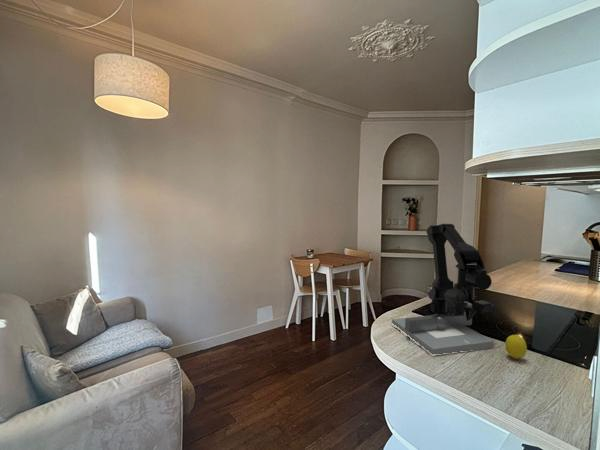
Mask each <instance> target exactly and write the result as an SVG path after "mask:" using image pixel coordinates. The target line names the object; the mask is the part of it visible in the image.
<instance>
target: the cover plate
mask: <svg viewBox="0 0 600 450" xmlns="http://www.w3.org/2000/svg"><path fill="white" fill-rule="evenodd" d="M433 315H434V314H432V315H430V316H433ZM441 315H442V314H441ZM423 316H424V315H422V316H420V317H423ZM413 317H414V316H412V317H409V318H413ZM405 318H406V317H403V318H401V317H400V318H392V319H391V324H392V323H393V324H394V325H396V326H397V327H399V328H400V329H401V330H402V331H404V332H405V333H406V334H407V335H409V336H410V337H411V338H412V339H414V340H415V341H416V342H418V343H419V344H420V345H421V346H423V347H424V348H425V349H426V350H428V351H429V352H430V353H432V354H443V353H452V352H460V351H470V350H477V351H482V350H481V349H484V350H492V349H494V340H492V339H490V338H488V337H487V336H484V335H483V334H481V333H479V332H478V331H476V330H474V329H472V328H470V327H468V326H467V325H465V326H456V327H447V328H445V329H430V330H421V331H412V332H408V331H407V330H406V329H405ZM470 352H471V351H470Z"/></svg>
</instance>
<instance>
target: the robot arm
mask: <svg viewBox="0 0 600 450" xmlns="http://www.w3.org/2000/svg"><path fill="white" fill-rule="evenodd" d="M426 235H427V239H428V241H429V242H430V243H431V245H432V250H433V251H432V252H433V262H434V274H435V278H434V279H433V281H432V284H431V287H432V288H431V289H430V290H429V291H428V298H429V299H430V300H431V301H430V309H431V311H432V312H433V313H432V312H431V313H432V314H434V313H438V314H451V313H450V312H449V303H450V304H451V305H452V306H453V307H454V309H455V313H462V312H466V315H467V321H468V320H470V319H472V320H473V317H474V316H475V314H476V313H482V314H485V313H490V312H494V304H493V303H491V302H489V301H486V300H484V299H483V300H482V299H480V300H477V296H476V295H475V289H479V290H481V291H484V290H487V289H488V290H489V288H490V287H491V285H492V278H491V276H490V275H489V274H488V273H487V270H486V268H485V263H484V261H483V259H482V257H481V253H480V252H479V250H478V249H477V248H476V247H474V246H473V245H470V244H468V243H467V242H466V241H465V239H464V238H463V237H462V236H461V235H460V233H459V232H458V231H457V229H456V227H455V225H454V224H453V223H441V224H437V225H434V224H433V225H429V226H428V227H427V229H426ZM447 241H448V243H449V245H450V246H451V248H452V249H453V251H454V253H453V257H454V259H455V261H456V263H457V264H455V268H456V269H457V283H455V282H454V281H453V280H451V279H450V278H449V276H448V275H449V274H448V265H447V255H446V247H445V244H446V242H447ZM466 304H467V306H466Z"/></svg>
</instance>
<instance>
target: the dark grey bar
mask: <svg viewBox="0 0 600 450" xmlns="http://www.w3.org/2000/svg"><path fill="white" fill-rule="evenodd" d="M432 315H433V316H431V315H422V316H423V317H421V316H412V317H413V318H410V317H404V318H405V329H406V330H407V331H408V332H412V331H421V330H430V329H445V328H447V327H456V326H471V325H472V324H473V318H472V319H470V320H468V321H467V315H466V311H464V312H462V313H457V312H453V313H450V314H442V315H441V314H434V313H433V314H432Z"/></svg>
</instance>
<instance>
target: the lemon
mask: <svg viewBox="0 0 600 450" xmlns="http://www.w3.org/2000/svg"><path fill="white" fill-rule="evenodd" d="M504 347H505V351H506V353H507V354H508V355H509V356H511V358H512V359H514V360H517V359H520V358H523V357H525V356H526V355H527V354H526V353H527V351H528V350H527V349H528V346H527V343H526V340H525V339H524V338H523V337H522V336H520V335H519V334H517V333H515V334H512V335H509V336H508V337H506V340H505V344H504Z"/></svg>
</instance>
